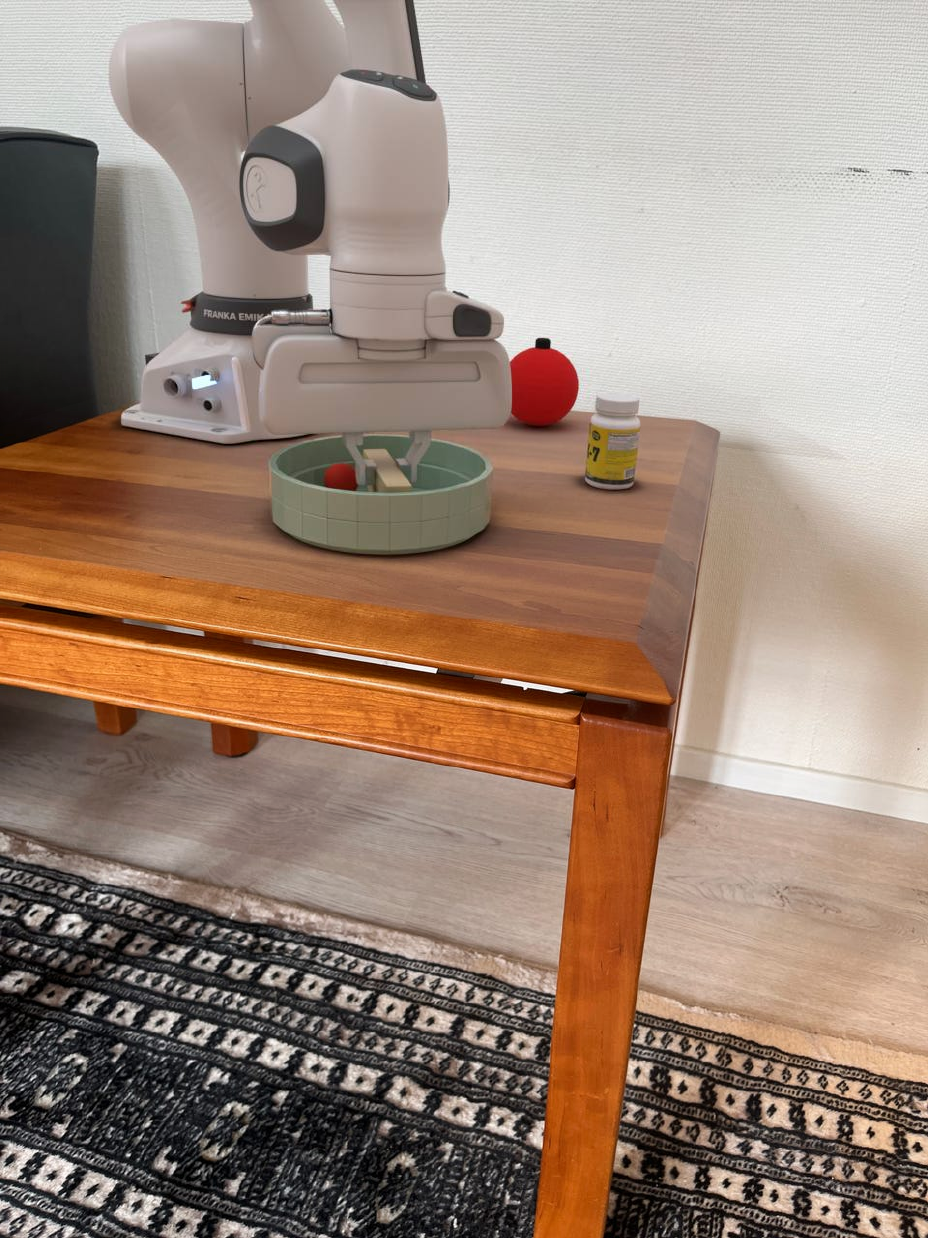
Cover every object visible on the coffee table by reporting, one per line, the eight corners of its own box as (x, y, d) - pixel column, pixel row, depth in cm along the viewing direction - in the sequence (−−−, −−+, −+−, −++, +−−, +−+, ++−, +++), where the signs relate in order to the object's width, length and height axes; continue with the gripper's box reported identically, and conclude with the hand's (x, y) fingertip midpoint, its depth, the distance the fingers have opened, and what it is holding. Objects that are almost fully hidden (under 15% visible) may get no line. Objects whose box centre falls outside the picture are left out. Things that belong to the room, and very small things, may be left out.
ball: (361, 469, 84) (363, 501, 86) (353, 455, 86) (354, 486, 88) (326, 474, 83) (329, 506, 85) (319, 459, 85) (321, 490, 87)
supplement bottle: (580, 475, 97) (588, 390, 94) (626, 476, 98) (636, 391, 94) (589, 490, 93) (598, 401, 89) (638, 491, 93) (649, 402, 90)
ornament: (583, 434, 113) (591, 345, 109) (506, 434, 112) (511, 343, 107) (565, 416, 121) (572, 332, 117) (493, 415, 120) (497, 331, 115)
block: (411, 521, 78) (411, 485, 77) (386, 523, 77) (386, 486, 76) (385, 481, 88) (385, 448, 86) (363, 482, 87) (363, 449, 86)
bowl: (232, 540, 77) (229, 478, 75) (321, 478, 93) (320, 426, 91) (458, 570, 73) (460, 506, 71) (509, 500, 89) (513, 446, 87)
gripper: (253, 314, 71) (262, 500, 76) (523, 315, 76) (513, 488, 82) (247, 303, 76) (255, 477, 82) (499, 305, 82) (490, 467, 87)
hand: (386, 482), depth 82 cm, fingers closed on block, 2 cm apart
